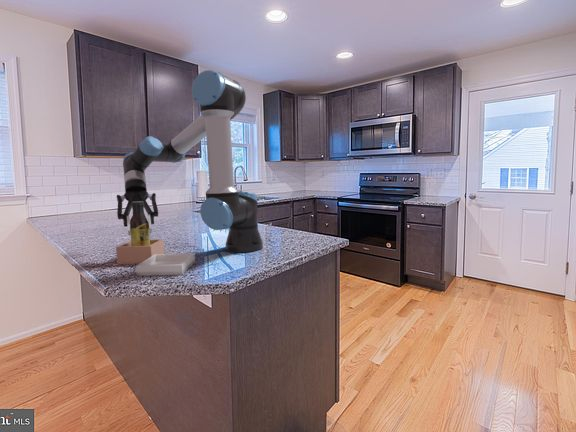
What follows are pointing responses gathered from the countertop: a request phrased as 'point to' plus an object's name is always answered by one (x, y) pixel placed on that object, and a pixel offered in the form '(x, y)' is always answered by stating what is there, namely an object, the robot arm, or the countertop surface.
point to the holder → (139, 252)
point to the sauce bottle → (139, 226)
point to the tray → (166, 264)
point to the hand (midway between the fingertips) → (140, 231)
